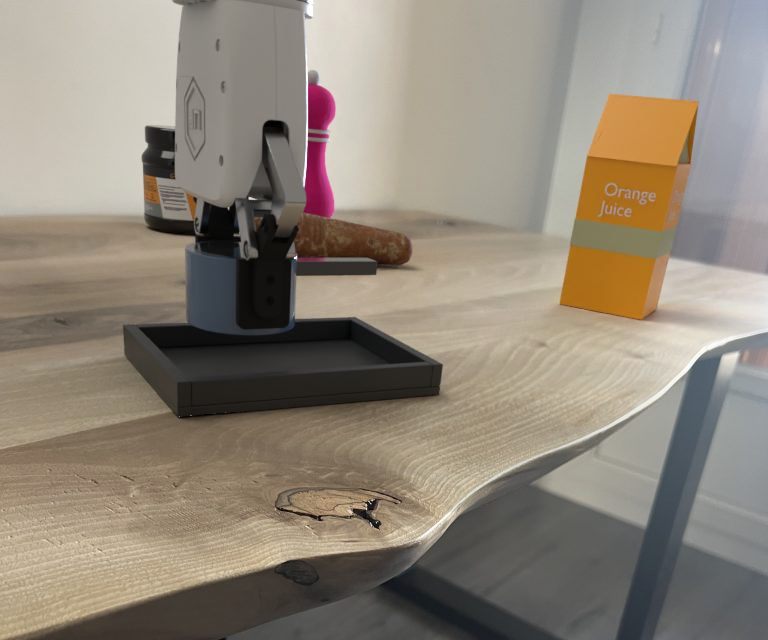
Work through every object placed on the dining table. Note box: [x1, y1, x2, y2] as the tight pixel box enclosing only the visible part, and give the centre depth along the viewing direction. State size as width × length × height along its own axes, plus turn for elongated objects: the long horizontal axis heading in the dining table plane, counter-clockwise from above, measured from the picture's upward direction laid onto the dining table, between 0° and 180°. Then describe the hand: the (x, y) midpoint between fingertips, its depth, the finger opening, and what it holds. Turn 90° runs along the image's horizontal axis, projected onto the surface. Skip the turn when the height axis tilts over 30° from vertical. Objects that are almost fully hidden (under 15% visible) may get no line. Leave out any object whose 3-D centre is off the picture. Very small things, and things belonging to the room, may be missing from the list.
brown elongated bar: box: [254, 213, 414, 266], centre depth 94 cm, size 6×19×6 cm, turn 96°
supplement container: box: [141, 124, 198, 236], centre depth 104 cm, size 10×10×12 cm
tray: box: [122, 316, 444, 418], centre depth 54 cm, size 18×13×2 cm
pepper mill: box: [303, 69, 337, 219], centre depth 104 cm, size 7×7×20 cm
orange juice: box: [558, 93, 700, 321], centre depth 83 cm, size 8×9×20 cm
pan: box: [184, 241, 378, 336], centre depth 52 cm, size 13×7×4 cm, turn 119°
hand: (240, 310), depth 51 cm, fingers closed on pan, 6 cm apart
